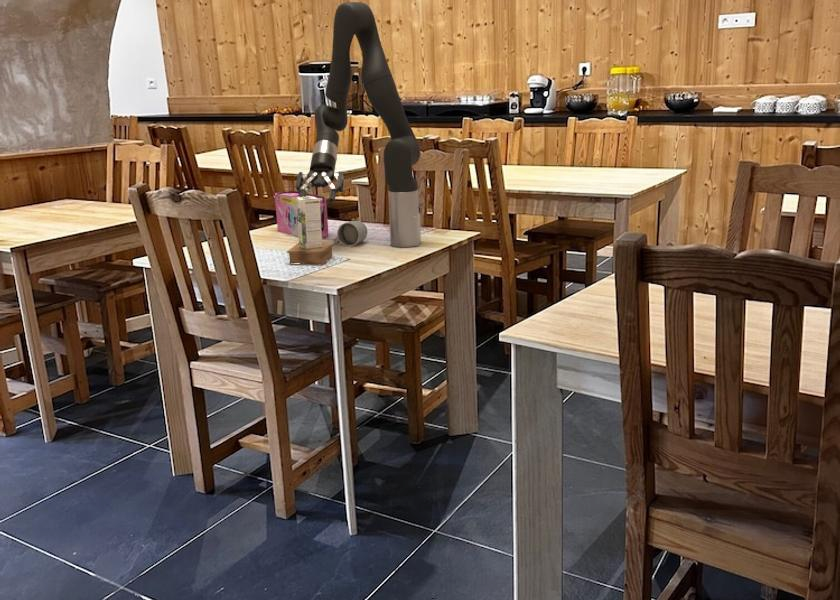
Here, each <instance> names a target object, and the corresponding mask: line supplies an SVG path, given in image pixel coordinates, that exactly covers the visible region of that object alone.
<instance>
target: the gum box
mask: <svg viewBox="0 0 840 600" xmlns="http://www.w3.org/2000/svg"><path fill="white" fill-rule="evenodd" d="M306 194H307V195H306V196H312V197H316V198H318V199H320V213H321V231H322V239H324V237H326V238H329V222H328V221H329V220H328V206H327V197H326V196H323V195H318V194H311V193H308V192H307V193H306ZM299 197H300V192H297V190H289V191H288V190H287V191H280V192H279V191H278V192H275V193H274V203H275V212H276V224H277V231H278V232H280V233H284V234H287V235H291V236H293V235H294V237H297V238H299V234H298V217H297V198H299Z"/></svg>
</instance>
